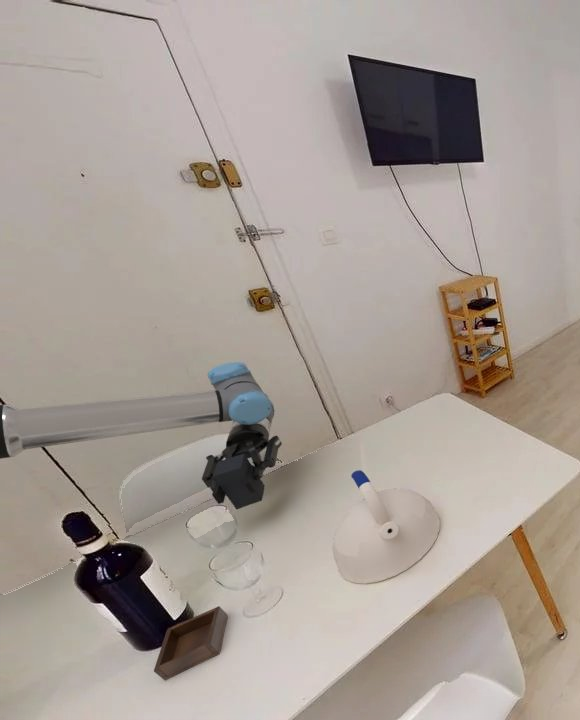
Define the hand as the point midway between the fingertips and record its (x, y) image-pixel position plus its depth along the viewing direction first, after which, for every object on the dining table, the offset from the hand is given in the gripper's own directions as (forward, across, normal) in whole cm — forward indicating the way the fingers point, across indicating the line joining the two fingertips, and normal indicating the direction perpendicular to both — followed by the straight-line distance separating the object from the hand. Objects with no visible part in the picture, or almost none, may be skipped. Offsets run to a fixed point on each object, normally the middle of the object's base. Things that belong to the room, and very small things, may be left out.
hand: (234, 493), depth 86 cm
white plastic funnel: (+19, -24, -14) cm, 34 cm away
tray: (+23, +7, -13) cm, 28 cm away
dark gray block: (-5, 0, -6) cm, 8 cm away
